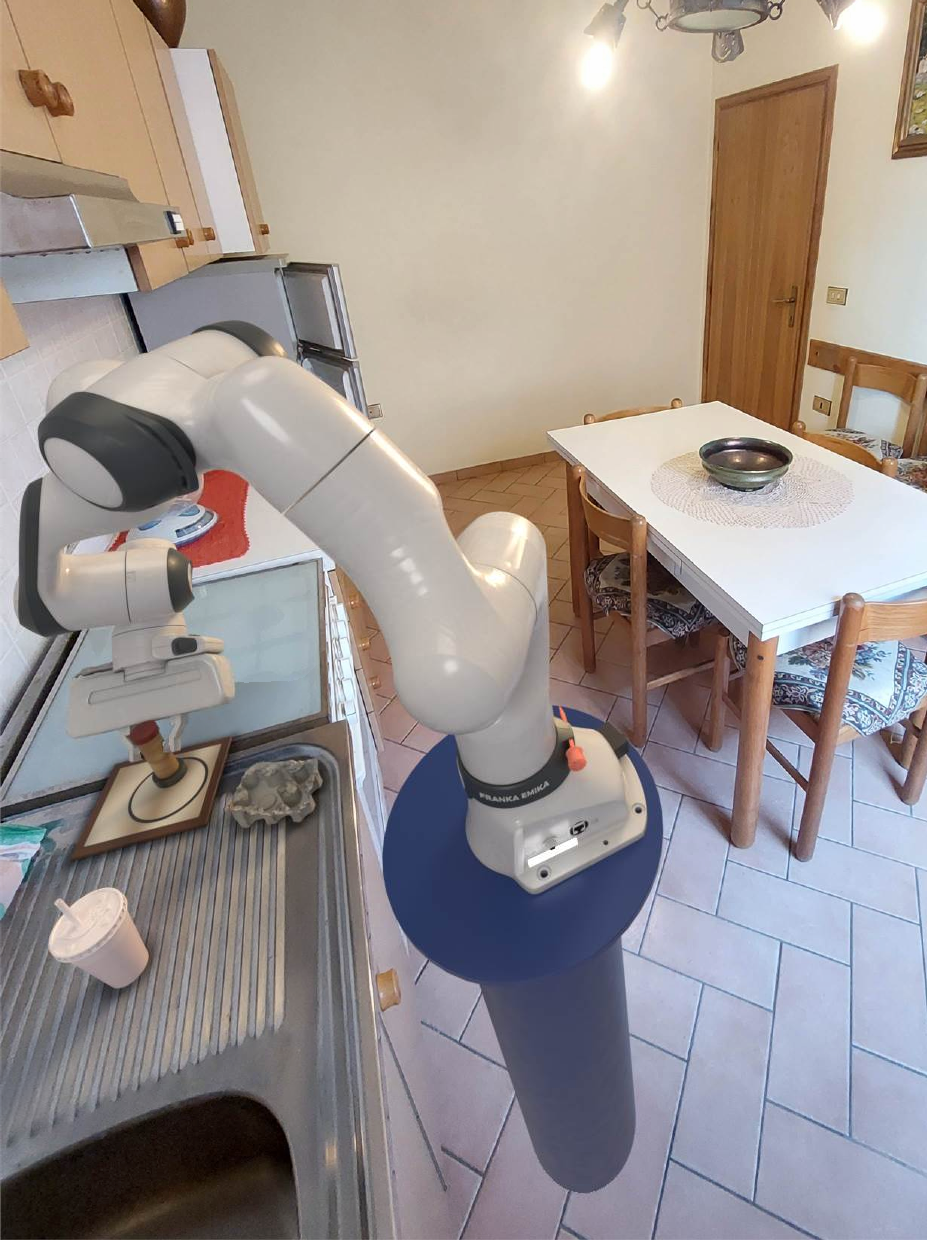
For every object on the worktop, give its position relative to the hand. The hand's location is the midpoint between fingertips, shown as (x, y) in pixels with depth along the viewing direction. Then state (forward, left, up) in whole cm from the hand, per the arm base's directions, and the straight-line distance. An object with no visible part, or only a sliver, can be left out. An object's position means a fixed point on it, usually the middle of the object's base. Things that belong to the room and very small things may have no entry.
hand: (155, 756), depth 81 cm
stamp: (0, -1, -5) cm, 5 cm away
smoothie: (-3, +23, -6) cm, 24 cm away
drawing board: (+1, +1, -6) cm, 6 cm away
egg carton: (-16, +7, -6) cm, 18 cm away
